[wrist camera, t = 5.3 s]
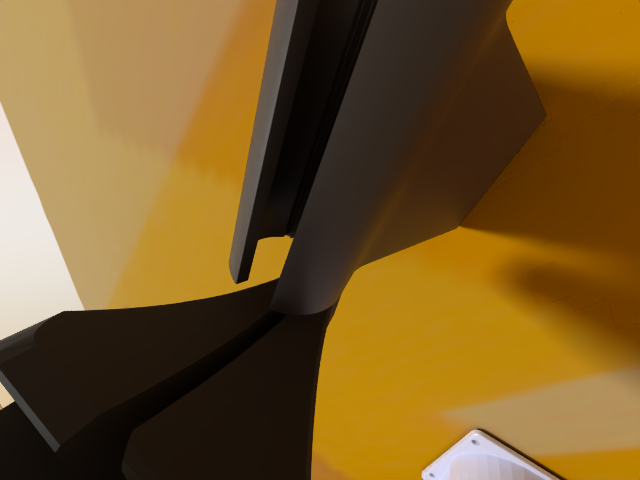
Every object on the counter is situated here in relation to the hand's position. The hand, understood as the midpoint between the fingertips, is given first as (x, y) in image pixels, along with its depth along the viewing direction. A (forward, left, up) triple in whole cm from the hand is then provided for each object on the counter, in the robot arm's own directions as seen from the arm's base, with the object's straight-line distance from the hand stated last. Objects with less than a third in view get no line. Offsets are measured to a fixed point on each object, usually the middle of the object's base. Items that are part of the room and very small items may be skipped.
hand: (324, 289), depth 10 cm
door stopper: (+5, 0, -8) cm, 10 cm away
